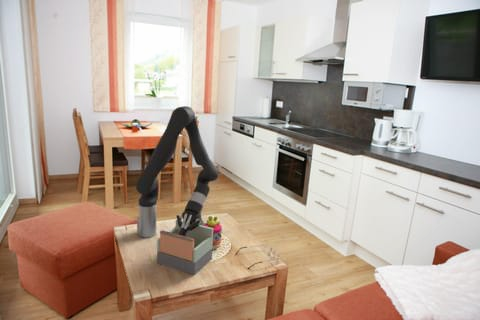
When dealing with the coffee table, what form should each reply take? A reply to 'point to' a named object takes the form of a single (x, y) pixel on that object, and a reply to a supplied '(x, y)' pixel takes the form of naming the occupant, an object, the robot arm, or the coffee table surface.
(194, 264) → the truck bed
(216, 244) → the cake
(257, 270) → the coffee table surface
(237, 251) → the eyeglasses
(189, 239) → the panel
